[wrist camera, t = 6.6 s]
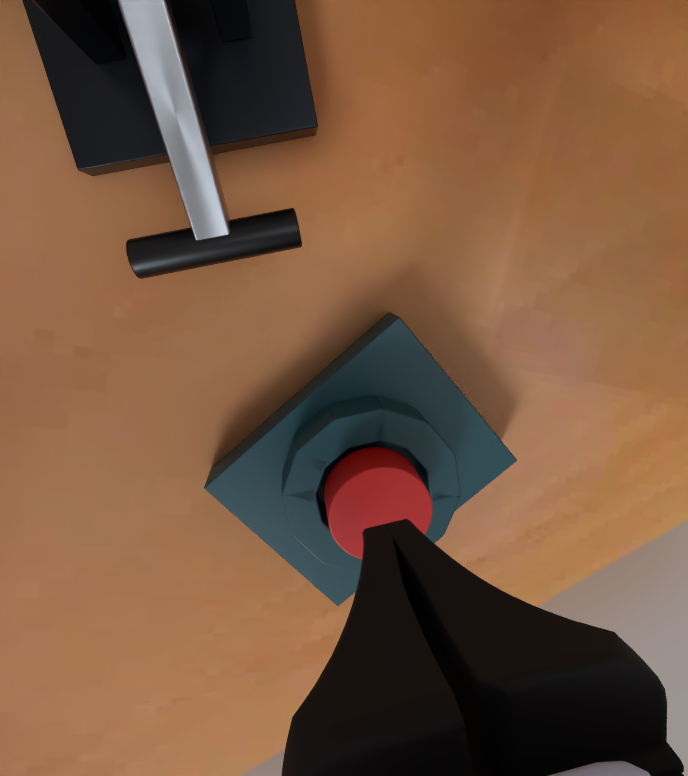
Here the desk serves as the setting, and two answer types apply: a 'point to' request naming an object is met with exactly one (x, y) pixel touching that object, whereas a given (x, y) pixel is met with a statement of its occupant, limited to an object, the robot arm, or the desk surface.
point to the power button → (373, 495)
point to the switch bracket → (207, 70)
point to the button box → (353, 432)
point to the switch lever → (190, 161)
